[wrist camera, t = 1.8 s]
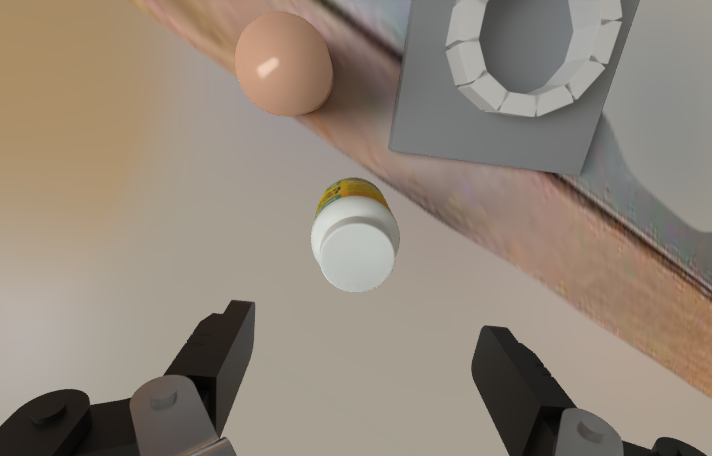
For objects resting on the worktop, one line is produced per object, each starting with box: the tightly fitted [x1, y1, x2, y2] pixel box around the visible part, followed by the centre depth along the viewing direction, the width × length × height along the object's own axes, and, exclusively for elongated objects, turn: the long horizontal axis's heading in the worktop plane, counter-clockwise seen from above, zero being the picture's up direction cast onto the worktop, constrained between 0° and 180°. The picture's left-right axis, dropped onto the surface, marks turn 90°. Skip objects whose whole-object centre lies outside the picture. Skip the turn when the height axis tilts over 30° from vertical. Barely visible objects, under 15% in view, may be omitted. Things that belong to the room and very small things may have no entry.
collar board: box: [388, 0, 640, 176], centre depth 22 cm, size 14×16×4 cm
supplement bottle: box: [311, 178, 400, 293], centre depth 23 cm, size 5×5×10 cm
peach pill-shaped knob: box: [235, 12, 334, 116], centre depth 21 cm, size 5×5×6 cm
